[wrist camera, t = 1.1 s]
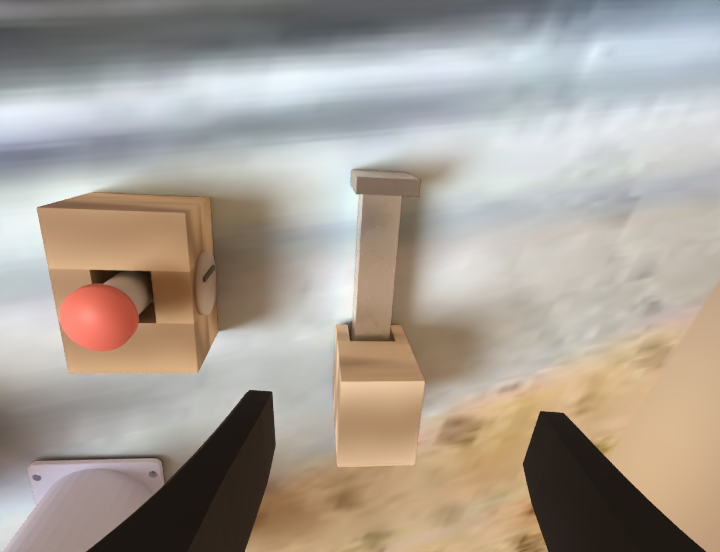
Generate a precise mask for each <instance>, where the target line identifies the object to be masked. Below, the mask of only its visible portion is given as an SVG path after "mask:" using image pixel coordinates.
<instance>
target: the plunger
mask: <svg viewBox="0 0 720 552" xmlns="http://www.w3.org/2000/svg"><path fill="white" fill-rule="evenodd" d="M153 298H154V296H153V287H152V281H151V280H150V278H149V277H148V276H146V275H145V274H144V273H142V272H139V271H130V270H124V271H121V272H119V273H117V274H116V275H115V276H113V277H112V278H111V279H109V280H108V281H106V282H105V283H104V284H89V285H85V286H83V287H80V288H79V289H77V290H76V291H74V292H73V293H71V294H70V295H69V296H67V297H66V298H65V300H64V301H63V303H62V305H61V307H60V311H59V318H60V323H61V326H62V328H63V330H64V332H65V333H66V334H67V336H68V337H69V338H70V339H71V340H72V341H74V342H75V343H76V344H78V345H80V346H82V347H84V348H86V349H89V350H94V351H110V350H114V349H117V348H119V347H121V346H122V345H124V344H125V343H126V342H127V341H128V340H129V339H130V338H131V337H132V335H133V334H134V333H135V331H136V329H137V327H138V322H139V314H140V313H141V312H142V311H143V310H144V309H145V308H146V307H147V306H148V305H149V304H150V303H151V302H152V300H153Z"/></svg>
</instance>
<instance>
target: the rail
mask: <svg viewBox="0 0 720 552" xmlns="http://www.w3.org/2000/svg"><path fill="white" fill-rule="evenodd" d="M420 183H421V180H420V179H418V178H416V177H414V176H412V175H410V174H408V173H406V172H388V171H367V170H351V186H352V188H353V190H354V191H355V193H356V194H359V205H358V223H357V242H356V260H355V278H354V297H353V315H352V333H351V341H389V339H390V327H391V316H392V304H393V293H394V281H395V270H396V259H397V247H398V236H399V224H400V213H401V201H402V196H410V197H419V193H420Z"/></svg>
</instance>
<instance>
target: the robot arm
mask: <svg viewBox="0 0 720 552" xmlns="http://www.w3.org/2000/svg"><path fill="white" fill-rule="evenodd" d="M275 445H276V444H275V428H274V412H273V396H272V392H270V391H257V390H249V391H248V392H247V393H246V394H245V395H244V396H243V398H242V399H241V400H240V402H239V403H238V404H237V405H236V407H235V408H234V409H233V410H232V411H231V413H230V414H229V415H228V416H227V418H226V419H225V420H224V421H223V422H222V423H221V425H220V426H219V427H218V428H217V429H216V430H215V432H214V433H213V434H212V435H211V436H210V437H209V438H208V439H207V441H206V442H205V443H204V444H203V445H202V446H201V447H200V448H199V449H198V451H197V452H196V453H195V454H194V455H193V456H192V457H191V458H190V459H189V460H188V461H187V462H186V463H185V464H184V465H183V466H182V467H181V468H180V469H179V470H178V471H177V472H176V473H175V474H174V475H173V476H172V477H171V478H170V479H169V480H168V481H167V482H166V483H165V484H164V476H163V468H162V463H161V461H160V460H158V459H156V458H140V459H97V460H55V461H34V462H32V463H31V464H30V465H29V467H28V468H27V472H28V476H29V480H30V484H31V488H32V492H33V496H34V500H35V504H36V507H35V508H34V510H33V511H32V512H31V514H30V515H29V516H28V518H27V519H26V520H25V522H24V523H23V524H22V526H21V527H20V528H19V530H18V531H17V532H16V534H15V535H14V536H13V538H12V539H11V540H10V542H9V543H8V544H7V546H6V547H5V548H4V550H3V551H2V552H245V549H246V546H247V543H248V540H249V537H250V534H251V531H252V528H253V525H254V522H255V519H256V516H257V513H258V510H259V507H260V504H261V501H262V498H263V495H264V492H265V489H266V486H267V482H268V478H269V473H270V469H271V464H272V460H273V455H274V450H275ZM523 467H524V472H525V476H526V481H527V486H528V490H529V494H530V498H531V502H532V506H533V509H534V512H535V515H536V517H537V520H538V523H539V526H540V529H541V532H542V535H543V538H544V540H545V543H546V546H547V549H548V552H706V551H705V550H704V549H702V548H701V547H700V546H699V545H698V544H696V543H695V542H694V541H693V540H692V539H690V538H689V537H688V536H687V535H686V534H685V533H684V532H683V531H681V530H680V529H679V528H678V527H677V526H676V525H675V524H674V523H673V522H672V521H670V520H669V519H668V518H667V517H666V516H665V515H664V514H663V513H662V512H661V511H660V510H659V509H657V508H656V507H655V506H654V505H653V504H652V503H651V502H650V501H649V500H648V499H647V498H646V497H645V496H644V495H643V494H642V493H641V492H640V491H639V490H638V489H637V488H636V487H635V486H634V485H633V484H632V483H631V482H630V481H628V479H626V477H625V476H623V474H622V473H621V472H620V471H619V470H618V469H617V468H616V467H615V466H614V465H613V464H612V463H611V462H610V461H609V460H608V459H607V458H606V457H605V456H604V455H603V454H602V453H601V452H600V451H599V450H598V448H597V447H596V446H595V445H594V444H593V443H592V442H591V441H590V440H589V439H588V438H587V437H586V436H585V435H584V434H583V433H582V432H581V431H580V429H579V428H578V427H577V426H576V425H575V424H574V423H573V422H572V421H571V420H570V419H569V418H568V417H567V416H566V415H565V414H564V413H559V412H545V411H540V413H539V416H538V419H537V423H536V426H535V429H534V432H533V435H532V438H531V441H530V444H529V447H528V450H527V453H526V456H525V459H524V462H523ZM152 471H154V472H156V473H153V472H152ZM39 475H40V476H39Z"/></svg>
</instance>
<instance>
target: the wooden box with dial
mask: <svg viewBox="0 0 720 552" xmlns="http://www.w3.org/2000/svg"><path fill="white" fill-rule="evenodd" d="M37 212H38V217H39V222H40V228H41V233H42V238H43V243H44V248H45V253H46V259H47V264H48V269H49V274H50V279H51V284H52V290H53V295H54V300H55V305H56V310H57V315H58V321H59V326H60V331H61V336H62V341H63V346H64V352H65V357H66V362H67V367H68V372H69V373H198V372H199V370H200V368H201V366H202V364H203V362H204V360H205V357H206V355H207V353H208V351H209V349H210V347H211V345H212V343H213V341H214V339H215V337H216V335H217V333H218V322H217V305H216V267H215V261H214V255H213V238H212V221H211V204H210V197H189V196H165V195H140V194H115V193H88V194H84V195H80V196H77V197H73V198H69V199H66V200H62V201H59V202H55V203H51V204H48V205H44V206H40V207H37ZM124 270H130V271H139V272H142V273H144V274H145V275H146V276H148V277H149V278H150V280H151V281H152V287H153V296H154V298H153V300H152V302H151V303H150V304H149V305H148V306H147V307H146V308H145V309H144V310H143V311H142V312H141V313H140V314H139V322H138V327H137V329H136V331H135V333H134V334H133V335H132V337H131V338H130V339H129V340H128V341H127V342H126V343H125V344H124V345H122V346H121V347H119V348H117V349H114V350H110V351H94V350H89V349H86V348H84V347H82V346H80V345H78V344H76V343H75V342H74V341H72V340H71V339H70V338H69V337H68V336H67V334H66V333H65V332H64V330H63V328H62V326H61V323H60V318H59V311H60V307H61V305H62V303H63V301H64V300H65V298H66V297H67V296H69V295H70V294H71V293H73V292H74V291H76V290H77V289H79V288H80V287H83V286H85V285H89V284H104V283H105V282H106V281H108V280H109V279H111V278H112V277H113V276H115V275H116V274H117V273H119V272H121V271H124Z"/></svg>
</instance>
